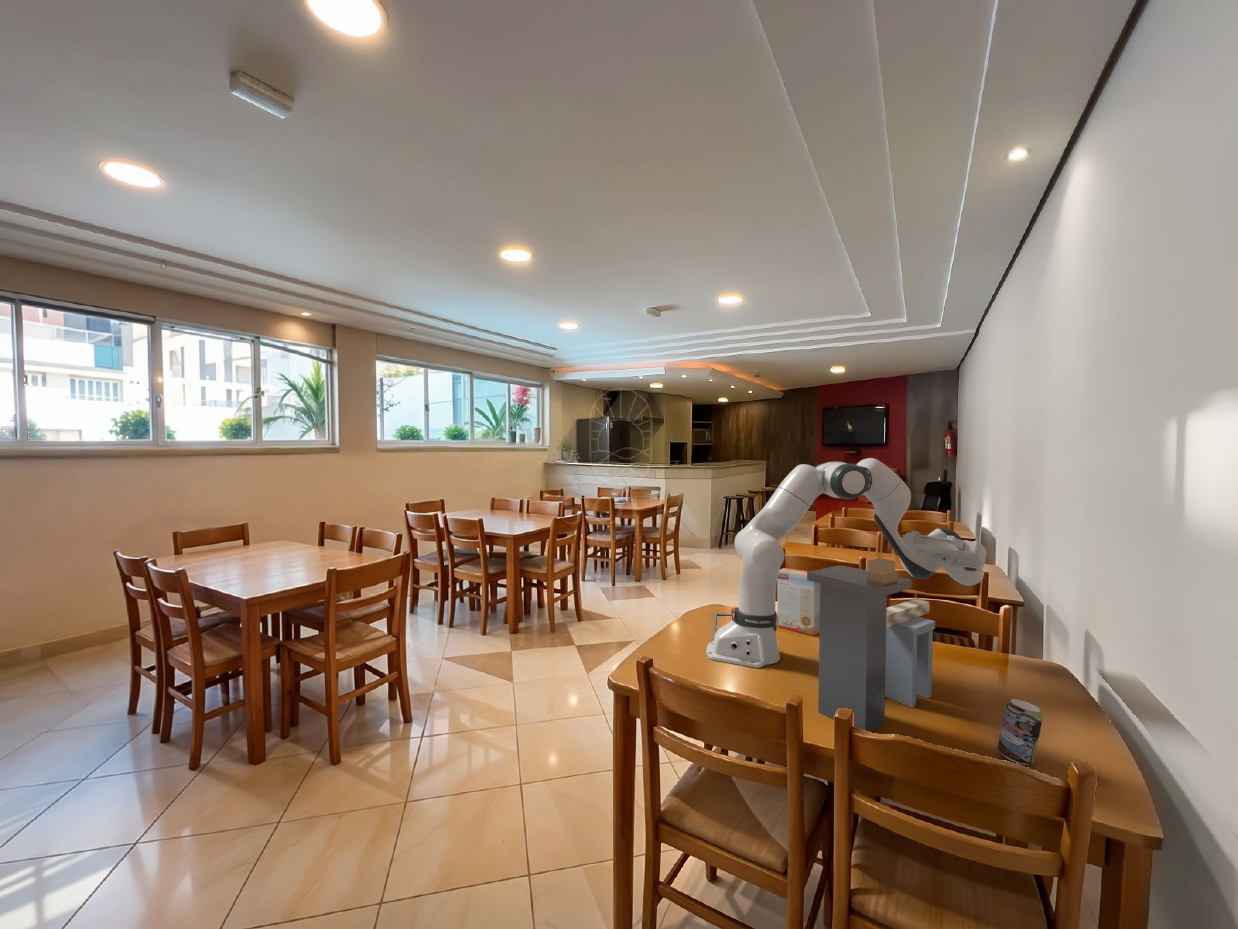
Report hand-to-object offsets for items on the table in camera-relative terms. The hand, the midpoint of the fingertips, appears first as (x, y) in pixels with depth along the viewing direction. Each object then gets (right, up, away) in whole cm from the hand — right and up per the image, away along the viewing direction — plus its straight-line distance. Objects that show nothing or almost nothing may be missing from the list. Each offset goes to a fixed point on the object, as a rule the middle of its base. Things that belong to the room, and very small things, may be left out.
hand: (931, 535), depth 143 cm
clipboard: (-43, -40, +42) cm, 72 cm away
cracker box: (-23, -39, +41) cm, 61 cm away
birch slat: (-13, -21, -8) cm, 25 cm away
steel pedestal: (-30, -41, -19) cm, 54 cm away
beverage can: (-4, -42, -36) cm, 55 cm away
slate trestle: (-13, -41, -7) cm, 43 cm away
